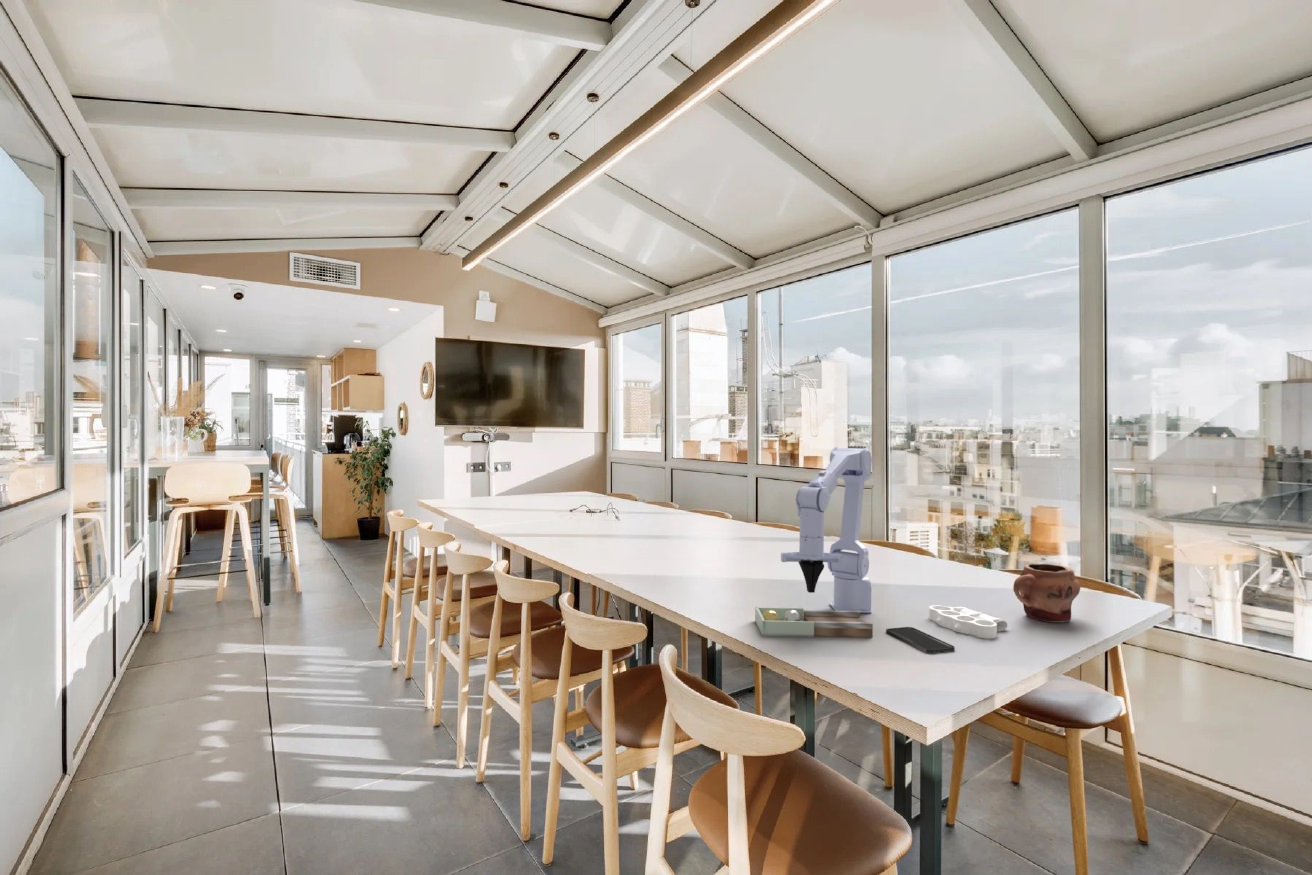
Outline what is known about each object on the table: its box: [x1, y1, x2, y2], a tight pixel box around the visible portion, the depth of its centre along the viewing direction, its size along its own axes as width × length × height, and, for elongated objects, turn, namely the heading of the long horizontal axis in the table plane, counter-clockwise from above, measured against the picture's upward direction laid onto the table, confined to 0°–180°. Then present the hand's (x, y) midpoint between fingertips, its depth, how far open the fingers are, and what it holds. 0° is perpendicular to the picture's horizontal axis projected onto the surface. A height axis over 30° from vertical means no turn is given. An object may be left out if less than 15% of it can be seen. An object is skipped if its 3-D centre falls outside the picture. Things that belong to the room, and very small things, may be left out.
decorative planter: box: [1012, 563, 1081, 623], centre depth 158 cm, size 20×12×14 cm, turn 112°
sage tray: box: [754, 606, 815, 638], centre depth 147 cm, size 12×12×4 cm
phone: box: [885, 626, 956, 655], centre depth 140 cm, size 8×1×15 cm
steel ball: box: [784, 610, 800, 621], centre depth 148 cm, size 4×4×4 cm
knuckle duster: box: [928, 604, 1008, 640], centre depth 152 cm, size 3×18×15 cm
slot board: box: [803, 609, 874, 638], centre depth 147 cm, size 14×10×3 cm
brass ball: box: [762, 610, 779, 621], centre depth 147 cm, size 4×4×4 cm
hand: (810, 591), depth 147 cm, fingers closed
